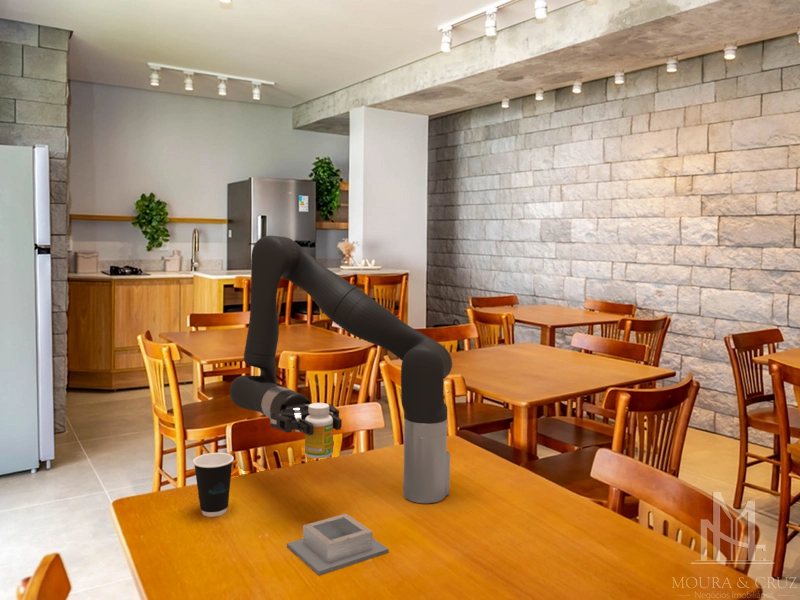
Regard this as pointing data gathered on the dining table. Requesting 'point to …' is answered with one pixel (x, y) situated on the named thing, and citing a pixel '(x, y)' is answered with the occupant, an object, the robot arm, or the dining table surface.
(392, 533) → the dining table surface
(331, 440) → the supplement bottle
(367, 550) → the socket board
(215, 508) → the dixie cup
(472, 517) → the dining table surface
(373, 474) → the dining table surface
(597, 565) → the dining table surface
